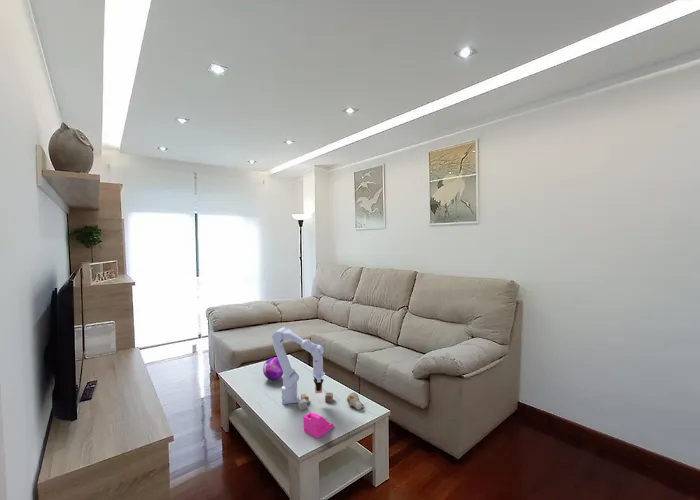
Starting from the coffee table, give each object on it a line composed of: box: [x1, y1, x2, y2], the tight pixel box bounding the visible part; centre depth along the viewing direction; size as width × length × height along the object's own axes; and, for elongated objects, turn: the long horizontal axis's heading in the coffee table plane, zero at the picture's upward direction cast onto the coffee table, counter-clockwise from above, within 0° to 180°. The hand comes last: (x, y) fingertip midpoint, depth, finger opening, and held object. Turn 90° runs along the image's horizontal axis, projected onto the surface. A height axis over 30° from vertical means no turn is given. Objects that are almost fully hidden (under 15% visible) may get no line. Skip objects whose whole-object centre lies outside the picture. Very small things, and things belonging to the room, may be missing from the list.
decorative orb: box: [262, 356, 283, 381], centre depth 224 cm, size 15×15×15 cm
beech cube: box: [300, 392, 310, 404], centre depth 194 cm, size 4×4×4 cm
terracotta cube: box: [314, 384, 323, 394], centre depth 190 cm, size 4×4×4 cm
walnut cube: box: [324, 392, 334, 403], centre depth 195 cm, size 4×4×4 cm
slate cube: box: [297, 398, 308, 411], centre depth 187 cm, size 4×4×4 cm
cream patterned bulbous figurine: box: [346, 392, 365, 411], centre depth 188 cm, size 8×10×10 cm
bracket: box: [302, 411, 335, 439], centre depth 167 cm, size 12×10×10 cm
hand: (318, 388), depth 190 cm, fingers closed on terracotta cube, 4 cm apart
